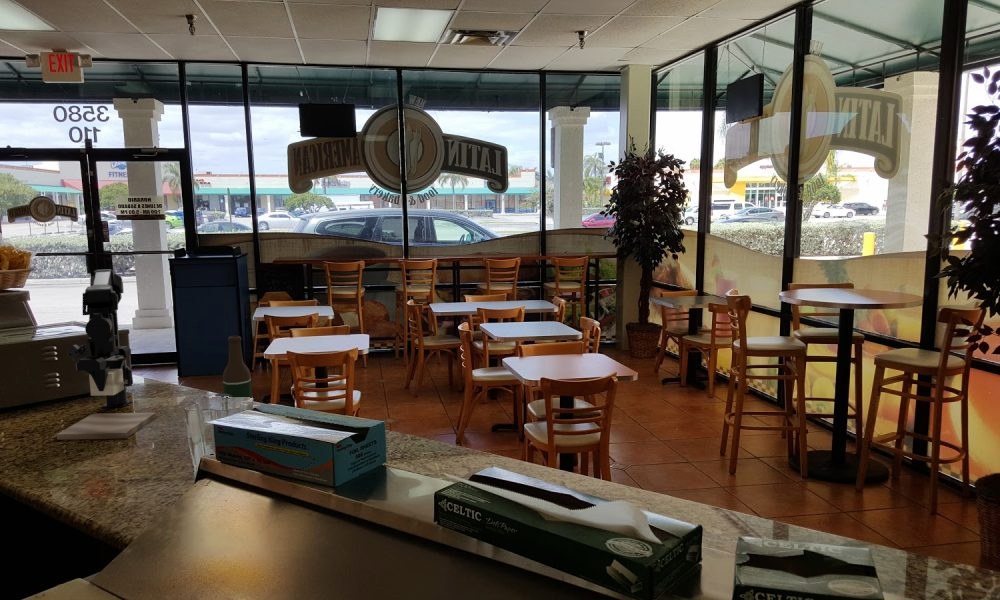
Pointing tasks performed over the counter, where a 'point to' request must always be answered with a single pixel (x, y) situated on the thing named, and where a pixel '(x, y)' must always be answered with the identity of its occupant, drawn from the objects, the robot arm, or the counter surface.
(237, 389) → the beer bottle
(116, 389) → the maple cube
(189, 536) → the counter surface
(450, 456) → the counter surface
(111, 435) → the wooden board
